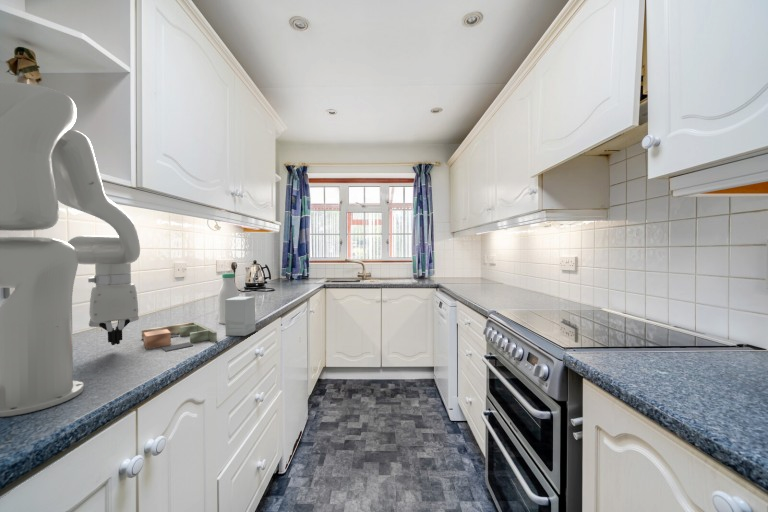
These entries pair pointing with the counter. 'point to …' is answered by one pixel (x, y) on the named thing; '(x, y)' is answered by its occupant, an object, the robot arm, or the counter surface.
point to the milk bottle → (226, 294)
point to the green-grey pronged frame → (189, 331)
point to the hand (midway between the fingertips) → (115, 343)
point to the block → (157, 338)
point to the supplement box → (239, 316)
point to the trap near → (177, 346)
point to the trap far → (174, 335)
